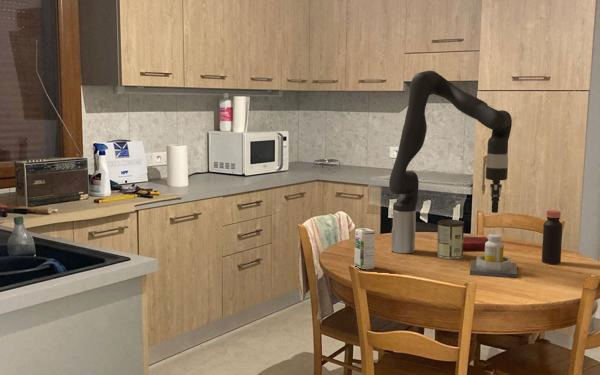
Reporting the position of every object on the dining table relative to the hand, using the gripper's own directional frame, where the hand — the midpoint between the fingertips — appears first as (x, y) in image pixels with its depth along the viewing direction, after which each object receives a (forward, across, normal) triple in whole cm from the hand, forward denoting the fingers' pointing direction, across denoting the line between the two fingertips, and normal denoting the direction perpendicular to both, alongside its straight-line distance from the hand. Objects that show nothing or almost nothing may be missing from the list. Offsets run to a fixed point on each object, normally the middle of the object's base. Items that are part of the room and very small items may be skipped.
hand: (494, 210), depth 232 cm
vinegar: (+22, +18, -21) cm, 36 cm away
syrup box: (+23, -11, +46) cm, 52 cm away
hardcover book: (+23, +34, +12) cm, 43 cm away
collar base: (+22, -1, 0) cm, 22 cm away
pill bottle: (+21, -1, 0) cm, 21 cm away
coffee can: (+23, +17, +17) cm, 33 cm away
